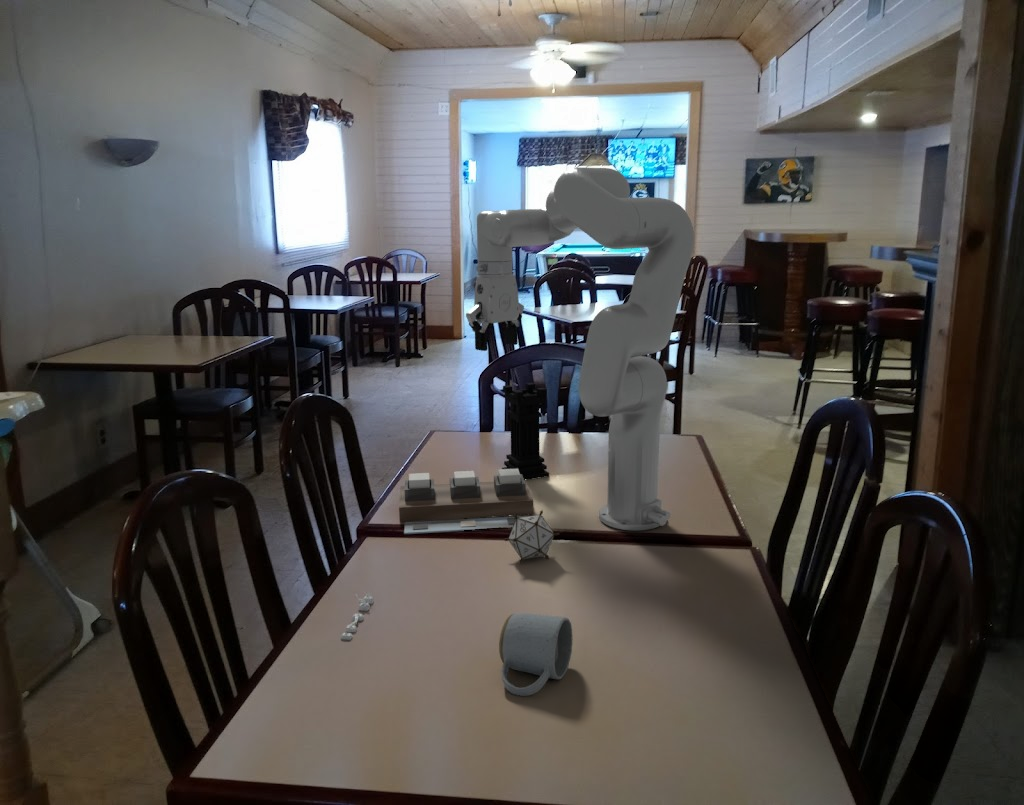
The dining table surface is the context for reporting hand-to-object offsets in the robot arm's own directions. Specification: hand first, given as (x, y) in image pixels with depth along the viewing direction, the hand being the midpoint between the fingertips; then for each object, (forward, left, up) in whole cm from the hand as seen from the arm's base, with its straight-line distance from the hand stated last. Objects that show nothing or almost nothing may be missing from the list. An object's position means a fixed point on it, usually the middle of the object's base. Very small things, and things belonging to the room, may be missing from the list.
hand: (496, 347), depth 179 cm
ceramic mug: (-71, +45, -29) cm, 88 cm away
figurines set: (-43, +57, -29) cm, 77 cm away
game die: (-43, +23, -29) cm, 57 cm away
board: (-18, +21, -28) cm, 40 cm away
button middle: (-16, +19, -24) cm, 34 cm away
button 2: (-20, +12, -24) cm, 33 cm away
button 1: (-11, +27, -24) cm, 38 cm away
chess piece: (-7, -3, -29) cm, 29 cm away
